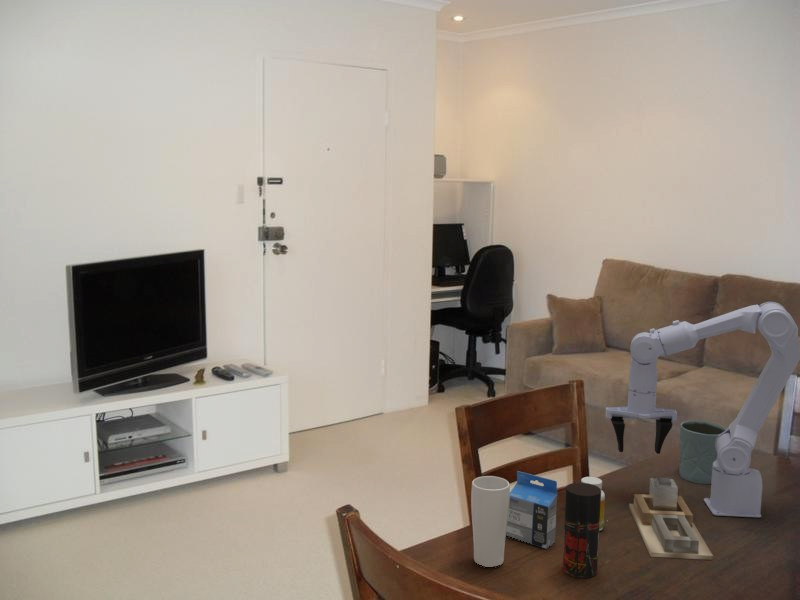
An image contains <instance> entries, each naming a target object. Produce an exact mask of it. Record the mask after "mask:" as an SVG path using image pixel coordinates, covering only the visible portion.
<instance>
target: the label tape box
mask: <svg viewBox="0 0 800 600" xmlns="http://www.w3.org/2000/svg"><path fill="white" fill-rule="evenodd" d="M531 481H532V482H531ZM536 481H537V482H538V483H540V484H543V485H539V484H536V483H533V482H536ZM557 482H558V481H557V480H554V479H549V478H546V477H542V476H539V475H534V474H531V473H528V472H524V471H523V472H522V471H519V470H517V471H516V483H515V485H514V486H513V487H512V489H511V490H510V503H509V514H508V522H507V530H506V535H507V536H510V537H512V538H511V539H513V538H515V539H514V540H516V539H518V540H517V541H520V540H521V542H523V541H524V542H523V543H526V542H527V544H529V543H530V545H534V546H536V547H540V548H542V549H549V548H550V547H551V546H552V545H553V543H554V544H555V542H556V541H555V540H556V525H557V503H558V485H557V484H558V483H557ZM510 537H509V538H510ZM549 546H550V547H549Z"/></svg>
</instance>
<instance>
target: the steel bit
mask: <svg viewBox="0 0 800 600" xmlns="http://www.w3.org/2000/svg"><path fill="white" fill-rule="evenodd" d="M678 487H679V486H678V485H677V484H676V482H675V480H674V479H673V478H669V477H655V478H654V477H650V478H649V492H648V495H649V506H648V508H649V510H655V511H676V509H677V496H678V490H679V488H678Z"/></svg>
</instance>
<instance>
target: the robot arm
mask: <svg viewBox="0 0 800 600" xmlns="http://www.w3.org/2000/svg"><path fill="white" fill-rule="evenodd" d="M756 329H758V331H759V333H760V334H761V335H762V337H763V338H765V340H766V342H767V344H768V346H769V349H770V351H771V355H770V356H769V358H768V360H767V362H766V363H765V365H764V366H763V368H762V371H761V373H760V375H759V376H758V378H757V380H756V382H755V383H754V386H753V387H752V389H751V390H750V392H749V394H748V395H747V398H746V400H745V402H744V403H743V404H742V407H741V408H740V410H739V412H738V414H737V416H736V417H735V419H734V420H732V422H730V423H729V425H728V427H727V428H726V429H727V430H726V431H725V432H723V433H721V434H720V435H719V436H718V437H717V439H716V441H715V449H716V451H717V459H716V461H714V462H713V468H712V482H711V486H710V497H704V498H703V501H704V503H705V504H706V506H707V507H708V509H709V511H710V513H711V514H712V515H713V516H720V517H721V516H722V517H723V516H724V517H725V516H726V517H741V518H742V517H743V518H762V514H761V512H762V510H761V509H762V500H763V499H762V498H763V497H762V496H763V478H762V477H763V476H762V475H761V472H760V470H758V469H755V468H751V466H750V465H751V462H752V459H751V458H752V456H751V455H752V452H753V449H754V448H755V445H756V441H757V437H758V434H759V432H760V431H761V429H762V426H763V425H764V423H766V420H767V418H768V416H769V414H770V413H771V411H772V409H773V407H774V406H775V404H776V402H777V400H778V399H779V397H780V395H781V393H782V392H783V389H784V388H785V387H786V384H787V382H788V381H789V379H790V377H791V376H792V374H793V372H794V371H795V369H796V367H797V365H798V363H799V362H800V341H799V340H800V339H799V328H798V325H797V324H796V322H795V320H794V318H793V317H792V315H791V314H790V313H789V312H788V311H787V309H786V308H785V307H784V305H782V304H780V303H778V302H775V301H766V302H763V303H761V304H759V305H758V304H753V305H749V306H746V307H741V308H739V309H736V310H733V311H730V312H727V313H724V314H721V315H718V316H715V317H712V318H710V319H707V320H704V321H701V322H698V323H695V324H693V323H690V322H689V321H684V320H683V321H680V320H679V319H677V320H674V321H672V324H670V325H668V326H663V327H661V328H658V329H655V328H654V327H653V328H650V329H649V332H648V331H647V332H645V331H644V332H638V333H637V334H636V335H634V337H633V338H632V339H631V343H630V348H629V350H630V355H631V357H630V366H629V373H628V375H629V376H628V388H627V389H628V390H627V406H614V407H613V406H611V407H608V406H607V407H605V418H606V419H608V420H610V422H611V424H612V426H613V429H614V433H615V437H616V440H617V441H616V442H617V450H618V452H619V453H624V436H625V429H626V427H625V426H626V424H625V420H624V419H632V420H633V419H635V420H636V419H638V420H655V439H654V451H655V454H658V455H659V454H661V452H662V447H663V444H664V442H665V440H666V438H667V436H668V434H669V432H670V431H671V430H672V428H673V425H674V424H673V422H677V421H678V411H677V410H676V409H670V408H667V409H666V408H659V407H656V406H657V405H656V404H657V389H658V375H659V374H658V373H659V370H658V367H657V365H658V364H657V363H658V359H659V357H667V356H669V355H673V354H678V353H680V352H683V351H688V350H691V349H694V348H695V347H696V345H697V343H698V342H699V341H700V340H703V339H706V338H711V337H716V336H718V335H723V334H728V333H731V332H734V331H743V332H745V333H750V334H754V335H755V334H757V333H756Z"/></svg>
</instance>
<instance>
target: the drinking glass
mask: <svg viewBox="0 0 800 600" xmlns="http://www.w3.org/2000/svg"><path fill="white" fill-rule="evenodd" d="M510 488H511V487H510V482H509V481H508V480H507V479H505V478H504V477H500V476H494V475H485V476H484V475H483V476H478V477H475V478H474V479H473V480H472V482H471V490H470V491H471V494H470V495H471V496H470V501H471V502H470V505H471V506H470V507H471V521H472V523H471V524H472V535H473V536H472V538H473V541H472V542H473V561H474V562H475V564H476V563H477V565H478V564H479V565H482V566H485V567H493V566H498V565H500V566H501V565H502V564H503V563H504V559H505V547H506V546H505V545H506V538H507V537H506V530H507V522H508V514H509V503H510V492H511V489H510ZM479 565H478V566H479ZM482 566H481V567H482ZM485 567H484V568H485ZM498 567H499V566H498Z"/></svg>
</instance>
